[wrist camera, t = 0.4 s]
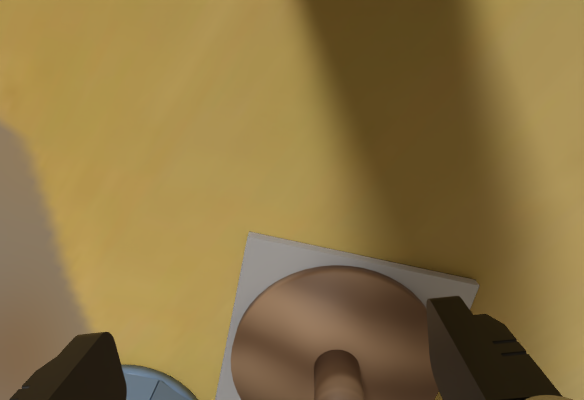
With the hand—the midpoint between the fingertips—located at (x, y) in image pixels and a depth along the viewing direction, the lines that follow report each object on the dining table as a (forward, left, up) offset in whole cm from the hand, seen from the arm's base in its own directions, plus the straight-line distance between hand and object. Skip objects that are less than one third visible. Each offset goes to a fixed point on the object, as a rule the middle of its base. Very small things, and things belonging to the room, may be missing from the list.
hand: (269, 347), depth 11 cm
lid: (+13, +6, -17) cm, 23 cm away
